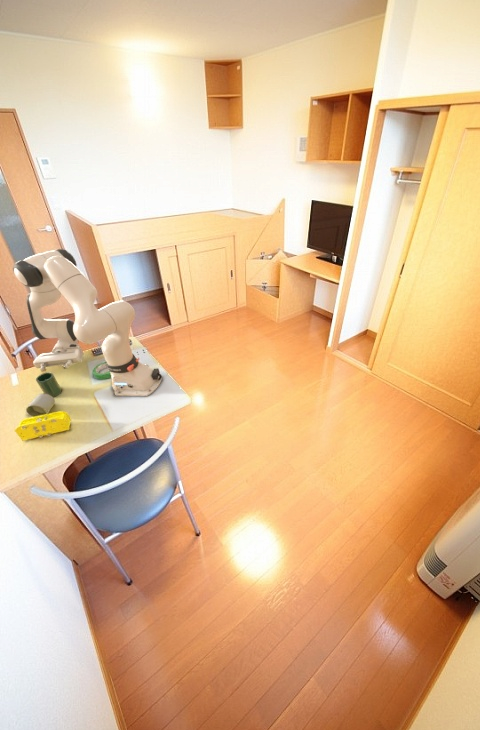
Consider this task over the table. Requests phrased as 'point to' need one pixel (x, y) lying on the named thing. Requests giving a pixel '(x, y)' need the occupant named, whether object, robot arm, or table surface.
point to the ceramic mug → (40, 405)
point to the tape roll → (101, 375)
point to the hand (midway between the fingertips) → (53, 369)
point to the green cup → (48, 384)
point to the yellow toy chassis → (43, 425)
